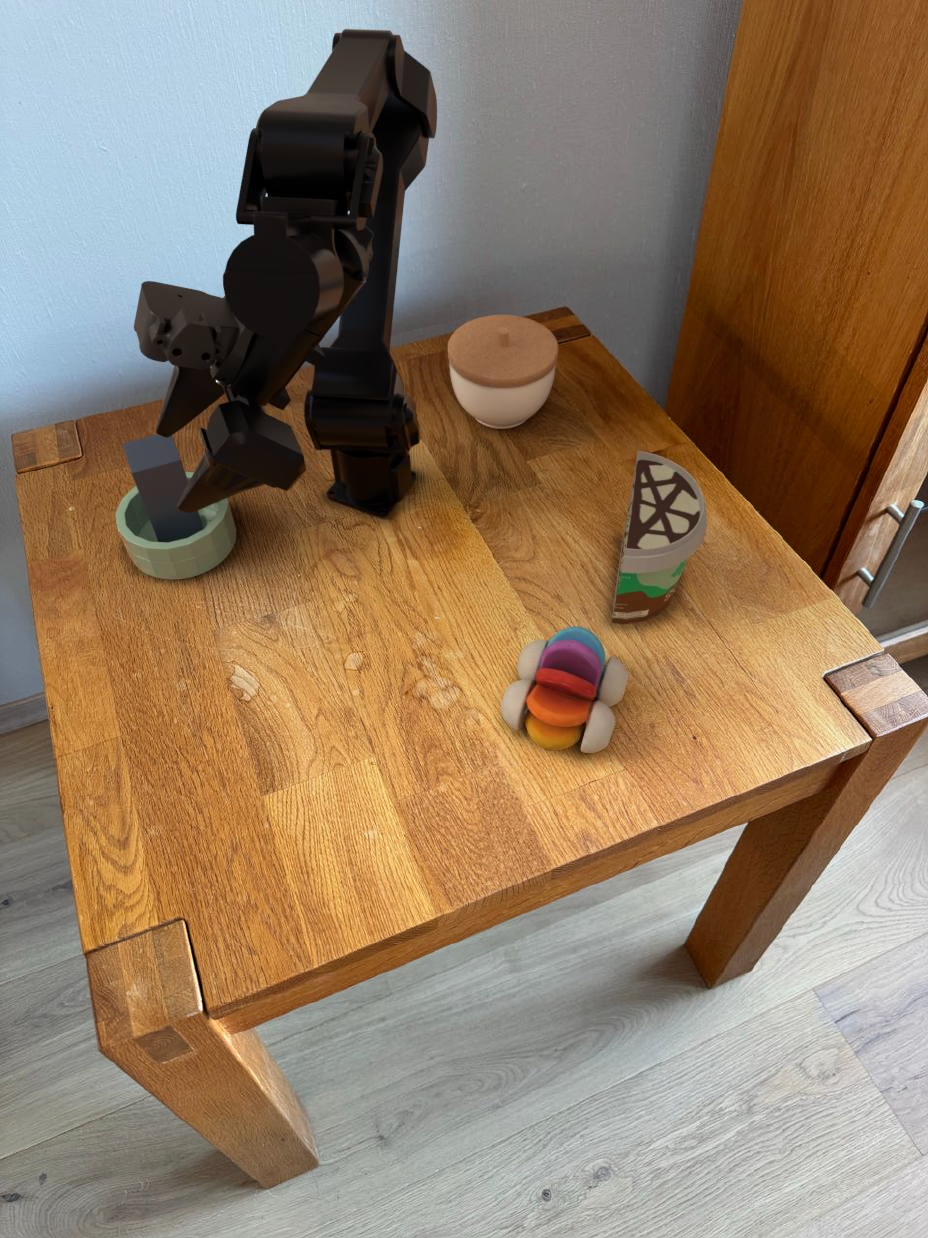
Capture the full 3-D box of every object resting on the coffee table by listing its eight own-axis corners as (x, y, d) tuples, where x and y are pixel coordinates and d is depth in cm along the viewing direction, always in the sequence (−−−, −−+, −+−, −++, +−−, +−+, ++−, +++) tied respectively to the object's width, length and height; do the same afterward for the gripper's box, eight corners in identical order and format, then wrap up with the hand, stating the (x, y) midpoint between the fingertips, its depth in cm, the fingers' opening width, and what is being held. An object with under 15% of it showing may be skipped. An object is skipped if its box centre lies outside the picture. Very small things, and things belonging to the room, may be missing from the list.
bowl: (107, 557, 82) (92, 526, 79) (174, 491, 87) (163, 459, 84) (193, 594, 79) (182, 562, 76) (257, 523, 84) (249, 491, 81)
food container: (684, 647, 75) (708, 565, 67) (609, 636, 76) (624, 554, 68) (691, 540, 82) (714, 455, 75) (623, 531, 83) (638, 446, 75)
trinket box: (427, 408, 95) (423, 329, 87) (502, 365, 99) (504, 286, 92) (500, 458, 90) (502, 379, 82) (574, 411, 94) (583, 331, 87)
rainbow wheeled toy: (491, 743, 69) (492, 688, 64) (530, 647, 75) (534, 589, 69) (600, 776, 67) (611, 723, 62) (631, 675, 73) (644, 618, 67)
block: (198, 515, 84) (170, 430, 77) (208, 544, 82) (180, 459, 74) (155, 528, 83) (122, 443, 76) (164, 557, 81) (131, 473, 73)
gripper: (162, 180, 62) (53, 355, 68) (219, 321, 51) (83, 516, 57) (292, 265, 70) (184, 415, 76) (366, 403, 59) (233, 567, 65)
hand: (171, 470), depth 69 cm, fingers open, 9 cm apart
